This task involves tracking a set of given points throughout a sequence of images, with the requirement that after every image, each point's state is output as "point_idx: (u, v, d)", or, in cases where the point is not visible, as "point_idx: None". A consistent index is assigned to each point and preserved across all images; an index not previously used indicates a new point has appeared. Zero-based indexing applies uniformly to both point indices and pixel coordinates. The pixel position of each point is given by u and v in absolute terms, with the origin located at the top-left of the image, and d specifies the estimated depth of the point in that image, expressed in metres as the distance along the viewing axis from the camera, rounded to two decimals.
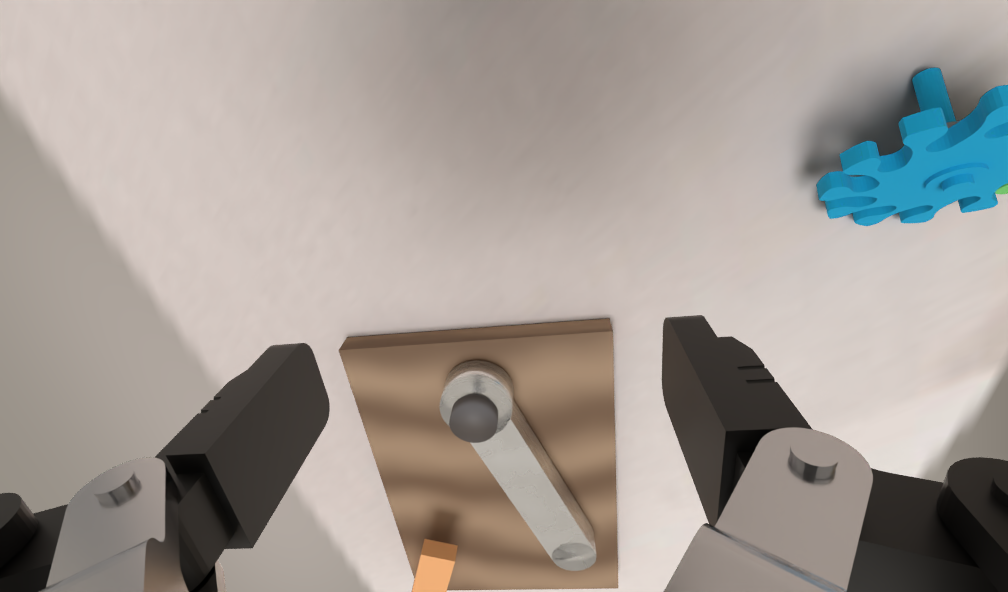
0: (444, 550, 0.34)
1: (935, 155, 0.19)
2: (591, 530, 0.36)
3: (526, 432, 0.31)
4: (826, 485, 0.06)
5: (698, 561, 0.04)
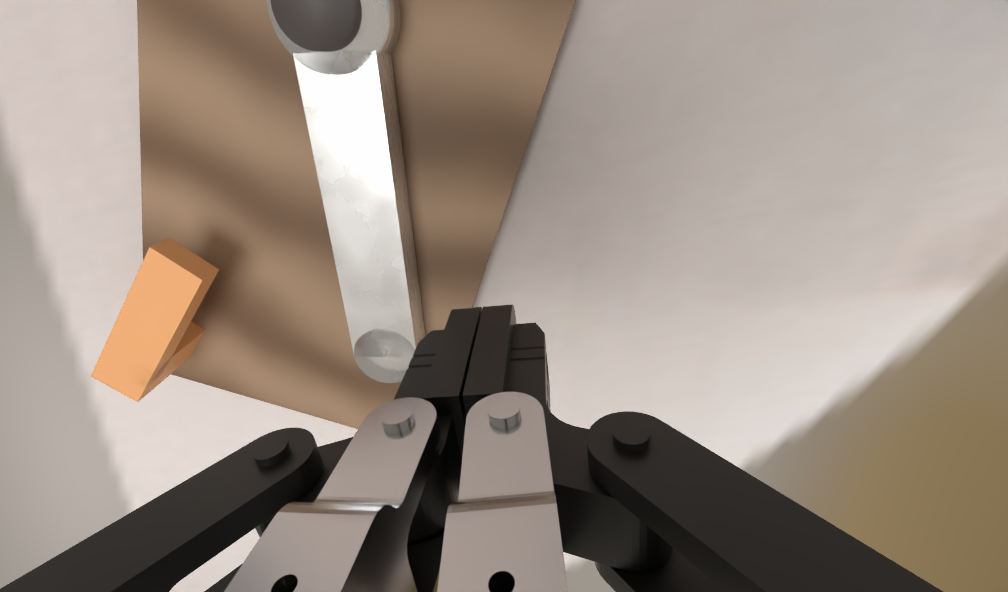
0: (193, 262, 0.21)
1: None
2: (423, 337, 0.25)
3: (391, 111, 0.20)
4: (500, 432, 0.07)
5: (456, 535, 0.05)
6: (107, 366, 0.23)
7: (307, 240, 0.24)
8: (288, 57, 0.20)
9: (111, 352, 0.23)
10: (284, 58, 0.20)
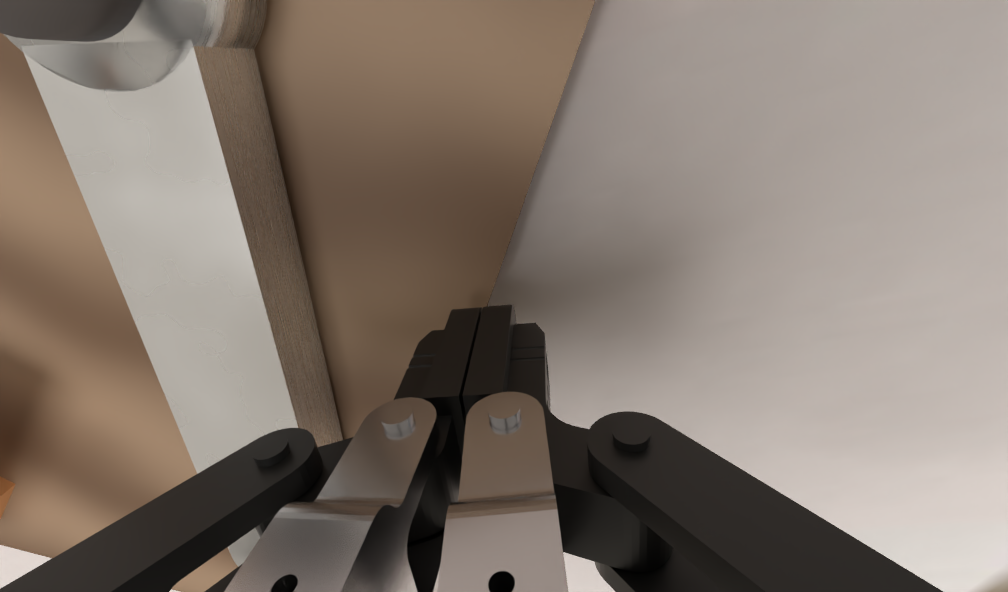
0: None
1: None
2: None
3: (254, 161, 0.10)
4: (500, 432, 0.07)
5: (456, 534, 0.05)
6: None
7: (151, 363, 0.14)
8: None
9: None
10: None
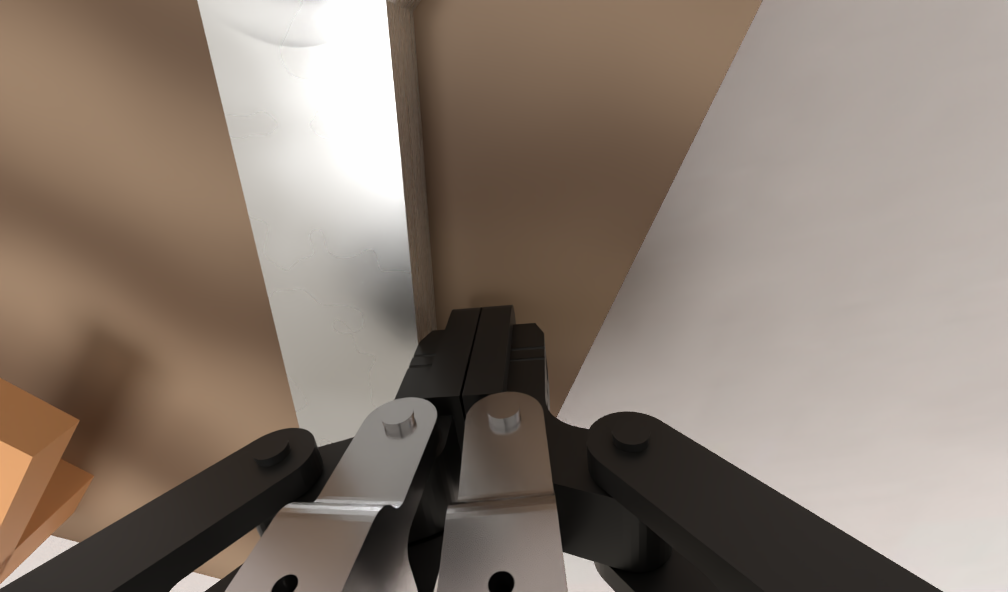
0: (20, 416, 0.11)
1: None
2: None
3: (410, 129, 0.10)
4: (500, 433, 0.07)
5: (455, 534, 0.05)
6: None
7: (257, 347, 0.14)
8: None
9: None
10: (199, 18, 0.10)
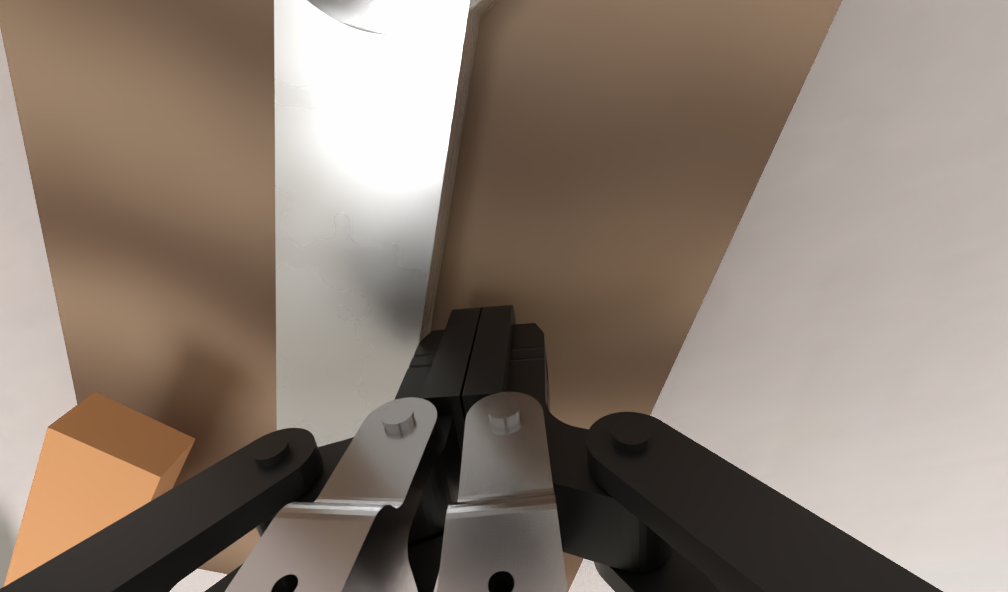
0: (143, 439, 0.11)
1: None
2: None
3: (456, 133, 0.10)
4: (500, 433, 0.07)
5: (455, 534, 0.05)
6: None
7: None
8: None
9: None
10: None
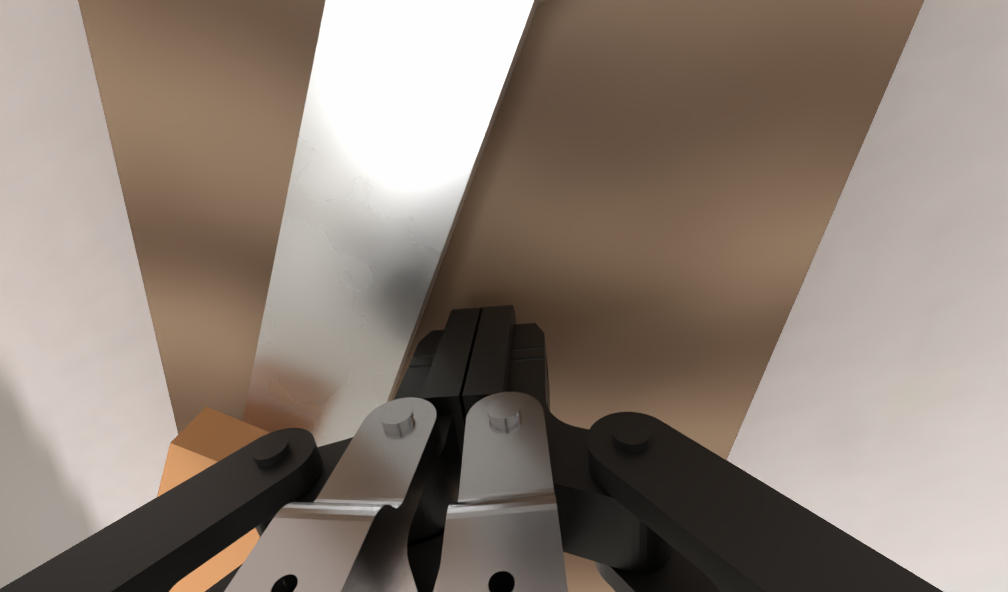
0: None
1: None
2: None
3: (493, 118, 0.09)
4: (500, 432, 0.07)
5: (456, 534, 0.05)
6: None
7: None
8: None
9: None
10: None
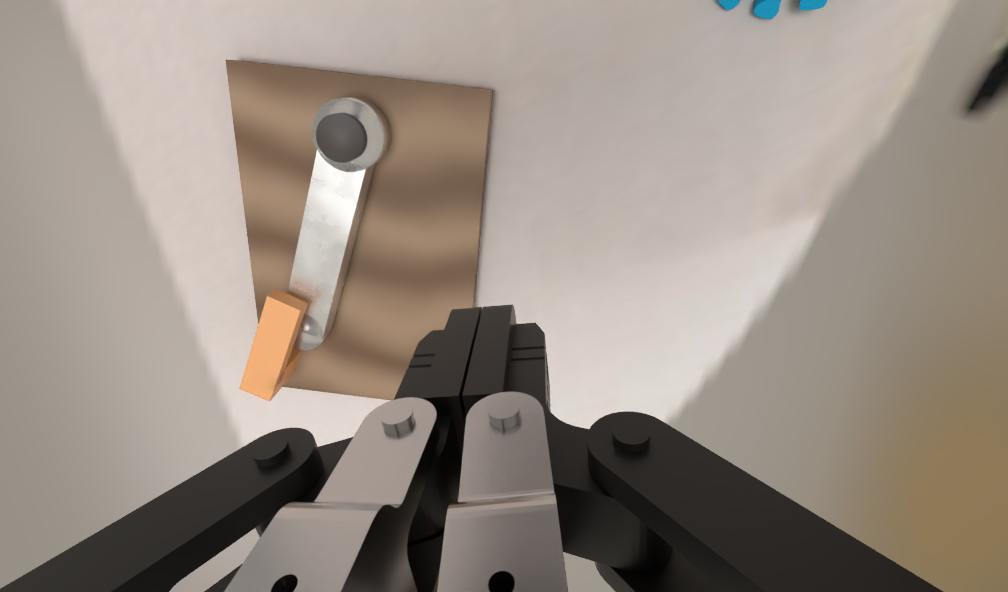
0: (292, 301, 0.34)
1: None
2: (331, 327, 0.38)
3: (362, 196, 0.32)
4: (500, 433, 0.07)
5: (455, 534, 0.05)
6: (249, 379, 0.36)
7: (357, 275, 0.36)
8: None
9: (250, 369, 0.36)
10: None
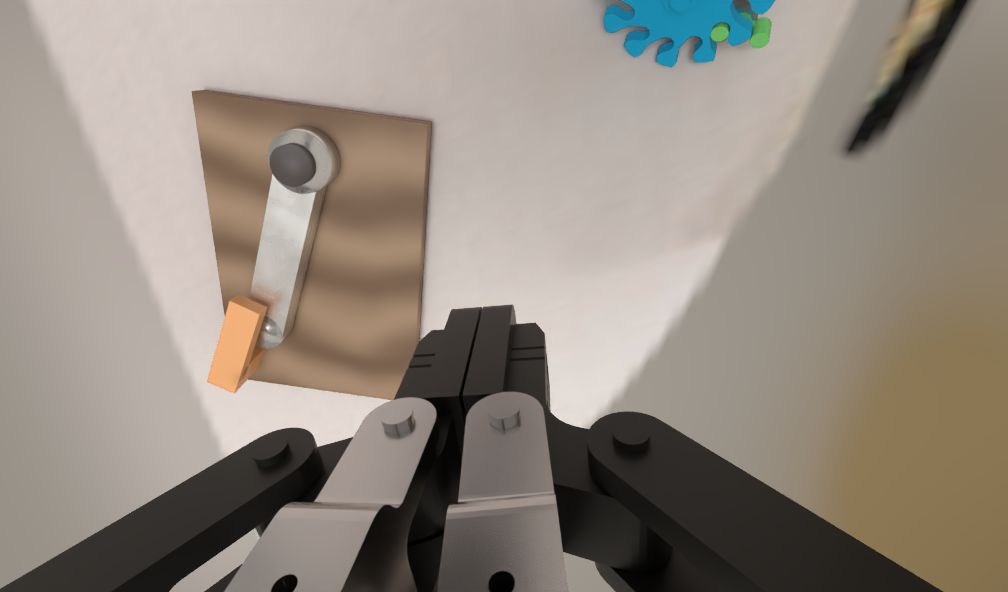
0: (253, 305, 0.38)
1: None
2: (290, 327, 0.42)
3: (315, 214, 0.36)
4: (500, 433, 0.07)
5: (455, 534, 0.05)
6: (215, 374, 0.40)
7: (314, 282, 0.40)
8: None
9: (216, 365, 0.40)
10: None
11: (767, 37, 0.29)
